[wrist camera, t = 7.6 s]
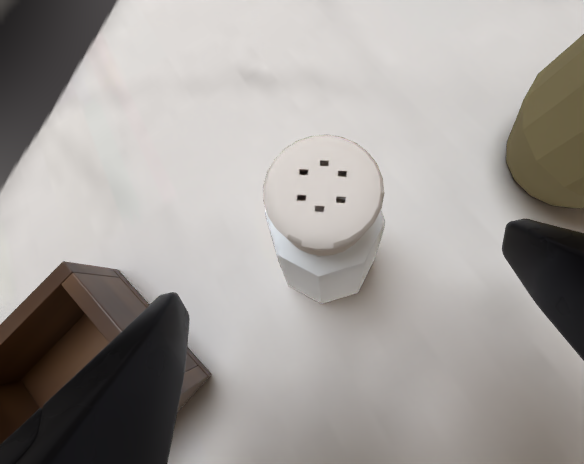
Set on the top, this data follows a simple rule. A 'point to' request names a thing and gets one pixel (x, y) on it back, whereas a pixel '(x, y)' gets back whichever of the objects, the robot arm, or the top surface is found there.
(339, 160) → the pepper shaker
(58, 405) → the robot arm
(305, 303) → the top surface
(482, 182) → the top surface
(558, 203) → the squeeze bottle
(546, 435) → the top surface
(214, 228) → the top surface
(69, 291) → the divided wooden tray
